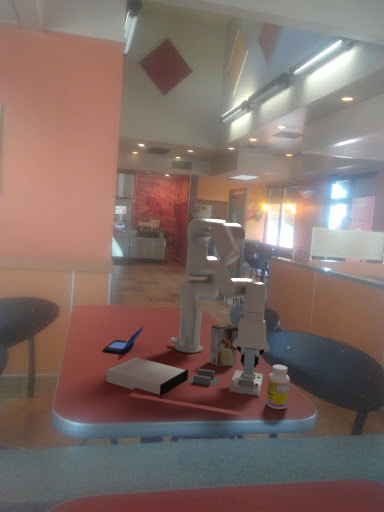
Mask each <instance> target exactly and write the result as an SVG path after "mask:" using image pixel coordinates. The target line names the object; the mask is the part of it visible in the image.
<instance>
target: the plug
mask: <svg viewBox="0 0 384 512" xmlns="http://www.w3.org/2000/svg"><path fill="white" fill-rule="evenodd" d="M255 355H256V349H252V348H245V357H244V366H243V370H242V371H243V373H248V374H254V373H255V368H254V361H255Z"/></svg>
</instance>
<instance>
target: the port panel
mask: <svg viewBox="0 0 384 512" xmlns="http://www.w3.org/2000/svg"><path fill="white" fill-rule="evenodd" d="M263 377H264V376H263V373H257V372H254V374H248V373H243V370H238V369H236V370H235V371H234V374H233V376H232V379H231V381H230V384H229V389H228V392H231V393H232V392H234V393H237V394H243V395H244V394H245V395H251V396H256V397H258V400H259V398H260V393H261V390H262V385H263Z"/></svg>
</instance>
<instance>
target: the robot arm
mask: <svg viewBox="0 0 384 512" xmlns="http://www.w3.org/2000/svg"><path fill="white" fill-rule="evenodd" d="M186 231H187V232H186V235H187V244H188V245H187V253H186V254H187V255H186V261H185V262H186V263H185V272H186V274H187V275H188V276H189V277H191V278H192V279H186V280H184V281H183V282H181V284H180V286H179V294H180V295H179V296H180V316H179V328H178V329H179V330H178V331H179V332H178V337H174V336H173V337H172V336H171V337H169V342H170V343H171V344H172V343H173V344H175V345H174V350H176V351H179V352H182V353H187V354H189V353H190V354H193V353H200V352H202V351H203V346H202V345H201V344H200V341H201V328H202V314H203V313H202V312H203V310H202V307H201V306H200V304H199V302H200V301H212V300H215V298H217V296H218V292H219V291H220V293H221V295H222V296H223V297H224V298H226V299H232V300H233V299H243V309H242V310H239V312H238V315H239V316H241V318H239V322H238V327H237V328H238V333H237V338H236V339H235V341H234V342H233V343H232V345H233V346H234V347H235V348H237V352H239V353H240V363H241V366H242V367H244V357H245V348H252V349H256V355H255V361H254V369H256V368H257V366H258V365H259V362H260V357H261V356H262V355H263V354H264V353H267V352H269V351H270V349H271V347H270V345H269V343H268V341H267V323H266V320H265V309H266V308H265V307H266V296H267V285H266V283H265V282H263V281H257V280H255V279H252V278H249V277H244V278H243V277H231V276H230V274H229V270H228V265H231V264H233V263H235V262H237V261H238V260H239V258H240V257H241V251H240V248H239V245H238V244H242V242H244V240H245V238H246V233H245V230H244V227H243V226H242V225H241V224H239V223H237V222H232V221H229V220H226V219H217V218H210V217H209V218H207V217H200V218H199V217H197V218H193V219H192V220H191V221H189V223H188V226H187V230H186ZM206 239H211V240H212V242H213V246H214V248H215V250H216V253H217V255H218V258H217V257H216V256H213V255H208V254H207V253H208V244H207V242H206ZM193 277H194V278H193ZM195 278H196V279H195ZM197 278H198V279H197ZM199 278H205V279H199Z"/></svg>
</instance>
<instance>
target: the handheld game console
mask: <svg viewBox="0 0 384 512" xmlns="http://www.w3.org/2000/svg"><path fill="white" fill-rule="evenodd" d="M143 329H144V326H142V327H140V329H138V330H137V331H136V332H135V333H134V334H133V335H132V336H131V337H130V338H129V340H121V339H115V340H113V341H112V342H111V343H109V344H108V345H106V346H105V347H104V348H103V349H102V351H103V352H104V353H108V352H110V353H109V354H116V353H118V355H124V354H125V353H126V352H128V348H129V349H130V348H132V347H133V346H134V345H135V341H136V340H137V338H138V337H139V335H140V334H141V333H142V331H143Z"/></svg>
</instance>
